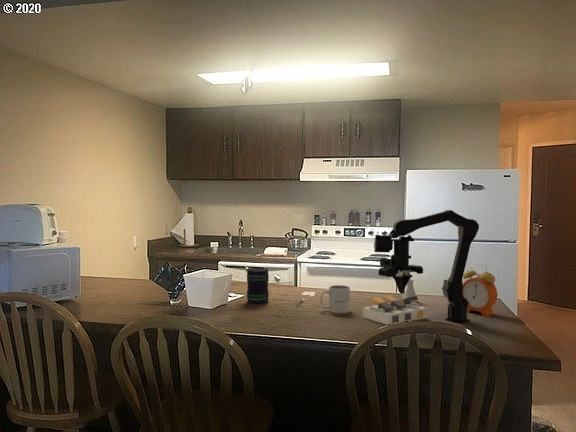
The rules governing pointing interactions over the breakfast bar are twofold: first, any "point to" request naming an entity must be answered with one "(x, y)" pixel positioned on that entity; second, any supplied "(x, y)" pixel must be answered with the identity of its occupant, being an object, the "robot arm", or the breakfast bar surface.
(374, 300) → the block
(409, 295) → the flask
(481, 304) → the alarm clock
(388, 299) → the block
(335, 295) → the mug
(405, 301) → the rocker
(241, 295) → the breakfast bar surface
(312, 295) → the spatula
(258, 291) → the storage jar
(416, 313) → the switch box
